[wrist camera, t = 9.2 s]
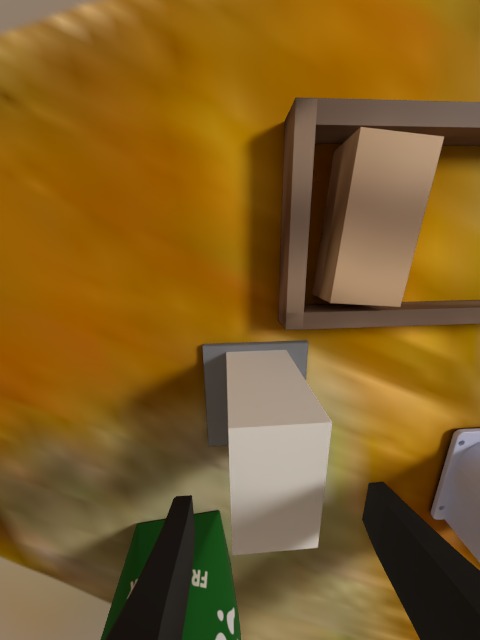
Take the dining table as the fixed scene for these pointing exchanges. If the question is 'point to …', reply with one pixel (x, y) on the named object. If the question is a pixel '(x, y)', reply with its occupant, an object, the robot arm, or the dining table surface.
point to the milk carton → (206, 580)
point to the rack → (299, 141)
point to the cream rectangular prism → (274, 453)
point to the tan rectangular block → (374, 215)
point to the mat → (218, 379)
